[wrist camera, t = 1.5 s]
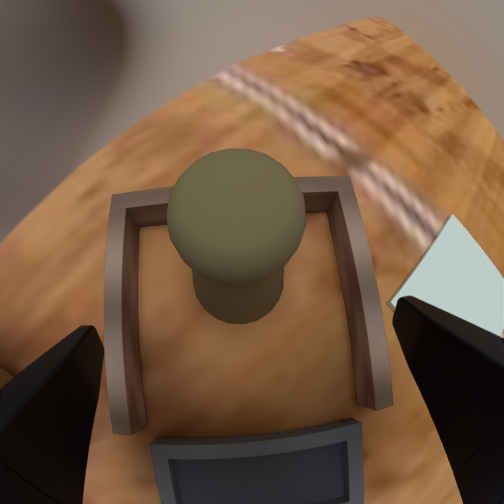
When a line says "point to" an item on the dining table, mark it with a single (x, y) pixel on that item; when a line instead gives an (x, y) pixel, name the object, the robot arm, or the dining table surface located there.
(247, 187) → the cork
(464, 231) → the sage pad
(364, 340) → the frame
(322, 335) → the dining table surface
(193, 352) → the dining table surface
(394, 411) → the dining table surface
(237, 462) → the tray
